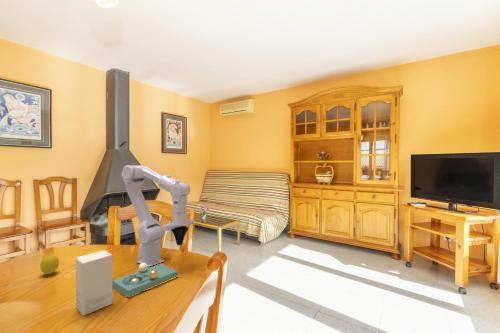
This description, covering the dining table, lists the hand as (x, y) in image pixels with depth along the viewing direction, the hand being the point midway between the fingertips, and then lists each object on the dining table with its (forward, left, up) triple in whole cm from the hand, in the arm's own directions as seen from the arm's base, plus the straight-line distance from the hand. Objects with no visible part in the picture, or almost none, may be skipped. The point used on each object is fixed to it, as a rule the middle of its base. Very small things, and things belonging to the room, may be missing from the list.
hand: (179, 244), depth 103 cm
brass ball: (+5, -15, -6) cm, 17 cm away
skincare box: (+3, -33, -10) cm, 35 cm away
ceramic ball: (-3, -14, -6) cm, 15 cm away
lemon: (-33, -35, -10) cm, 49 cm away
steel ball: (+1, -20, -8) cm, 21 cm away
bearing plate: (+1, -15, -10) cm, 18 cm away
